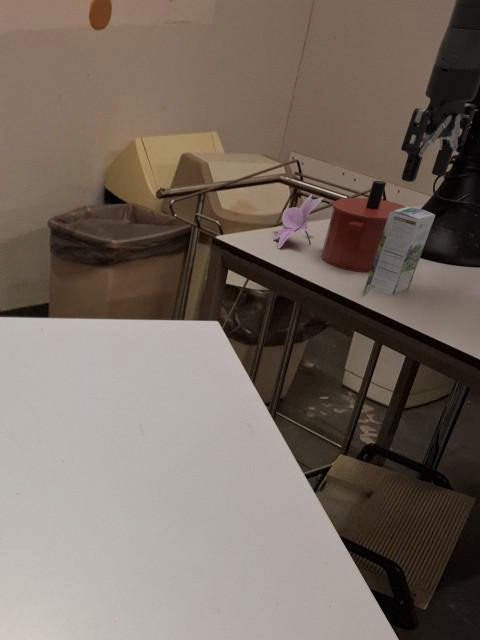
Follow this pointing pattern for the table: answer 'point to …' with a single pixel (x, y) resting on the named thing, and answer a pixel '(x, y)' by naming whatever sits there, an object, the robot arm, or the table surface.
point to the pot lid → (368, 205)
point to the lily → (296, 220)
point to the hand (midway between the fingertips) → (422, 178)
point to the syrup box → (399, 250)
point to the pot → (352, 242)
